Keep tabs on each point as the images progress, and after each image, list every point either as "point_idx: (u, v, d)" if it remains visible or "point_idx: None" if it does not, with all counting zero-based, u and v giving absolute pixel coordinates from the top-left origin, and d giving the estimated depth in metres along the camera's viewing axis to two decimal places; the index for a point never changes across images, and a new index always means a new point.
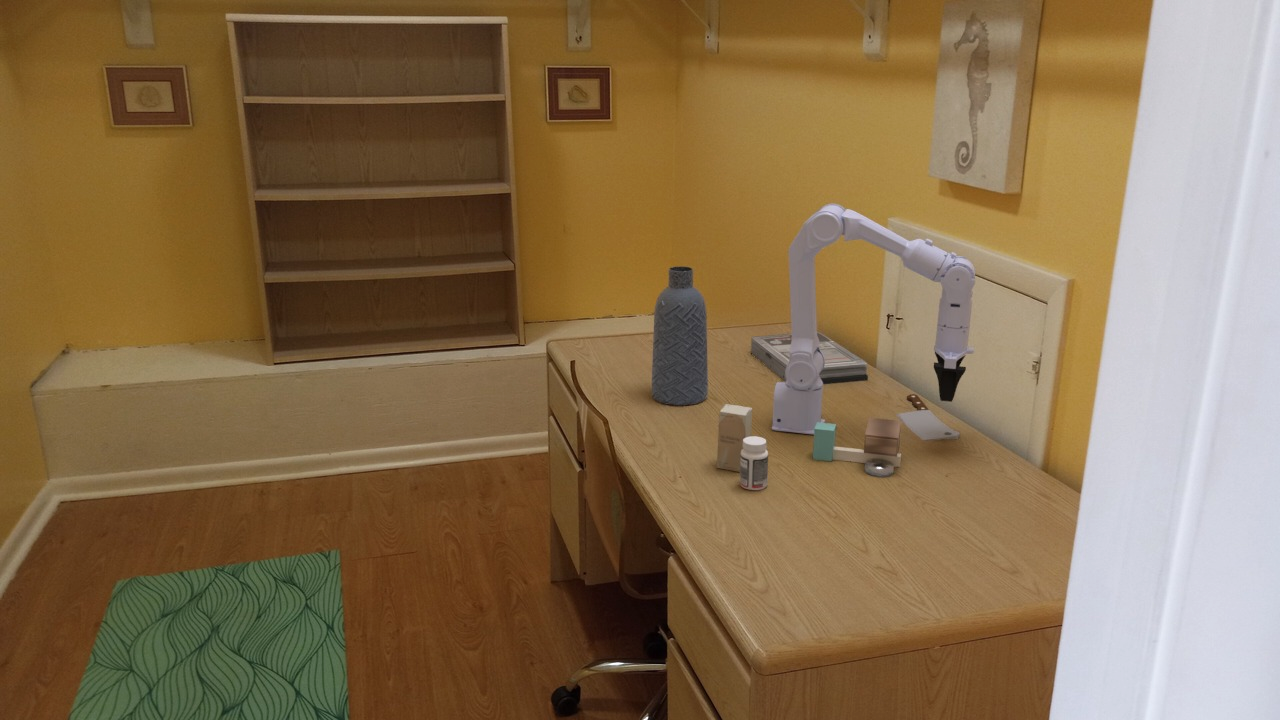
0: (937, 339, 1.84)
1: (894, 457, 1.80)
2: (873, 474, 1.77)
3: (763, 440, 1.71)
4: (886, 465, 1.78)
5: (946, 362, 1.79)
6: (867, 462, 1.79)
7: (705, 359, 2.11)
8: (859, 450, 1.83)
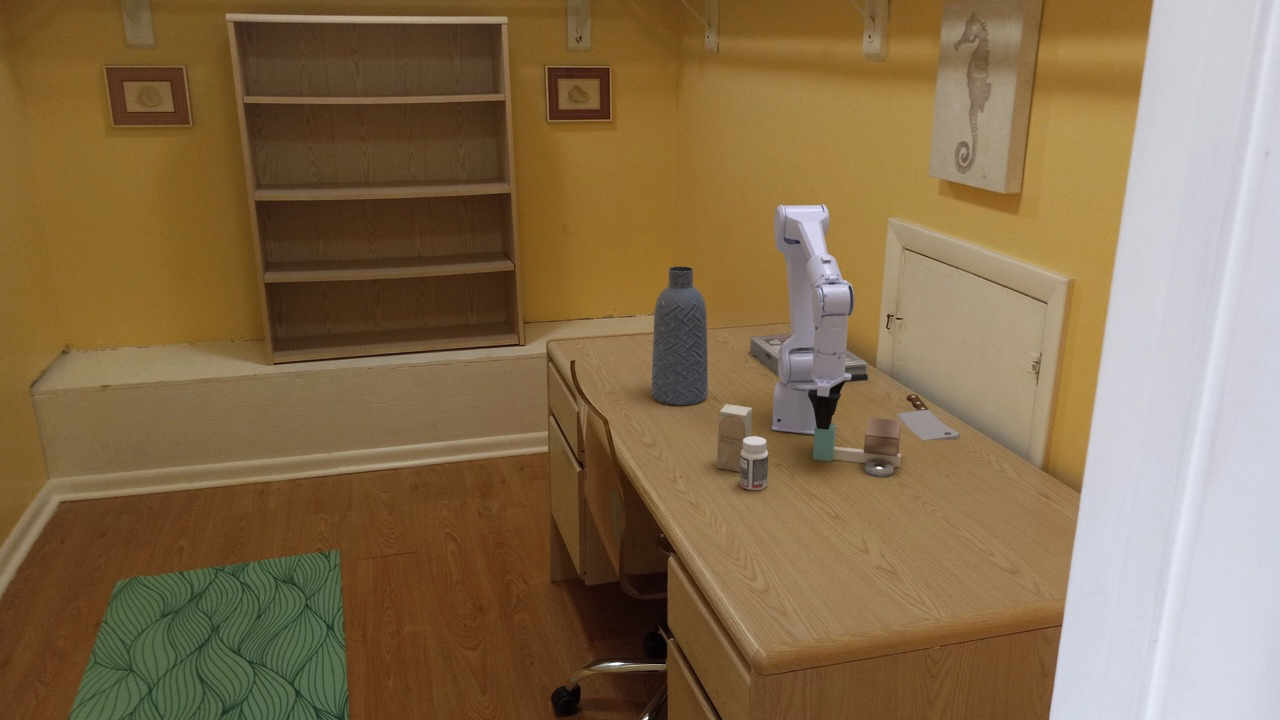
0: (813, 365, 1.79)
1: (894, 457, 1.80)
2: (873, 474, 1.77)
3: (763, 440, 1.71)
4: (885, 465, 1.78)
5: (819, 389, 1.74)
6: (867, 462, 1.79)
7: (705, 359, 2.11)
8: (859, 450, 1.83)
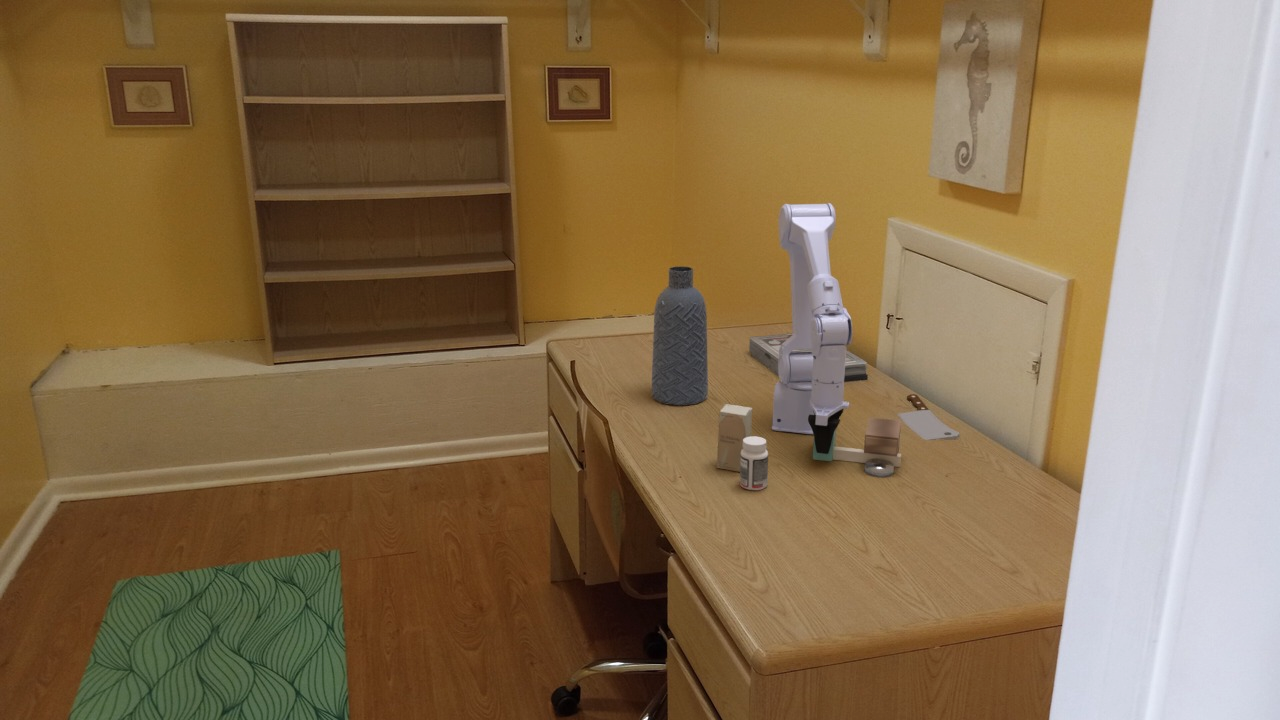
0: (812, 393, 1.81)
1: (894, 457, 1.80)
2: (873, 474, 1.77)
3: (763, 440, 1.71)
4: (885, 465, 1.78)
5: (817, 419, 1.76)
6: (867, 462, 1.79)
7: (705, 359, 2.11)
8: (859, 450, 1.83)
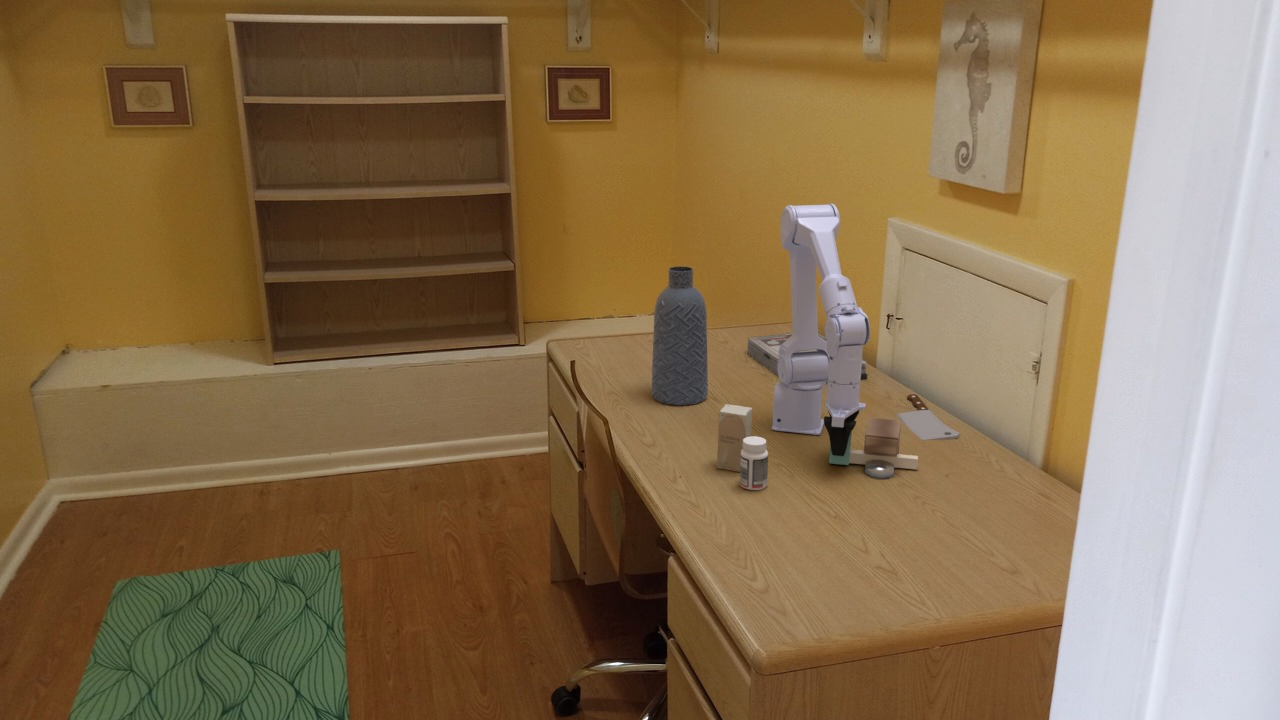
0: (827, 394, 1.78)
1: (911, 460, 1.79)
2: (873, 475, 1.76)
3: (763, 440, 1.71)
4: (886, 466, 1.77)
5: (833, 420, 1.73)
6: (867, 463, 1.78)
7: (705, 359, 2.11)
8: None
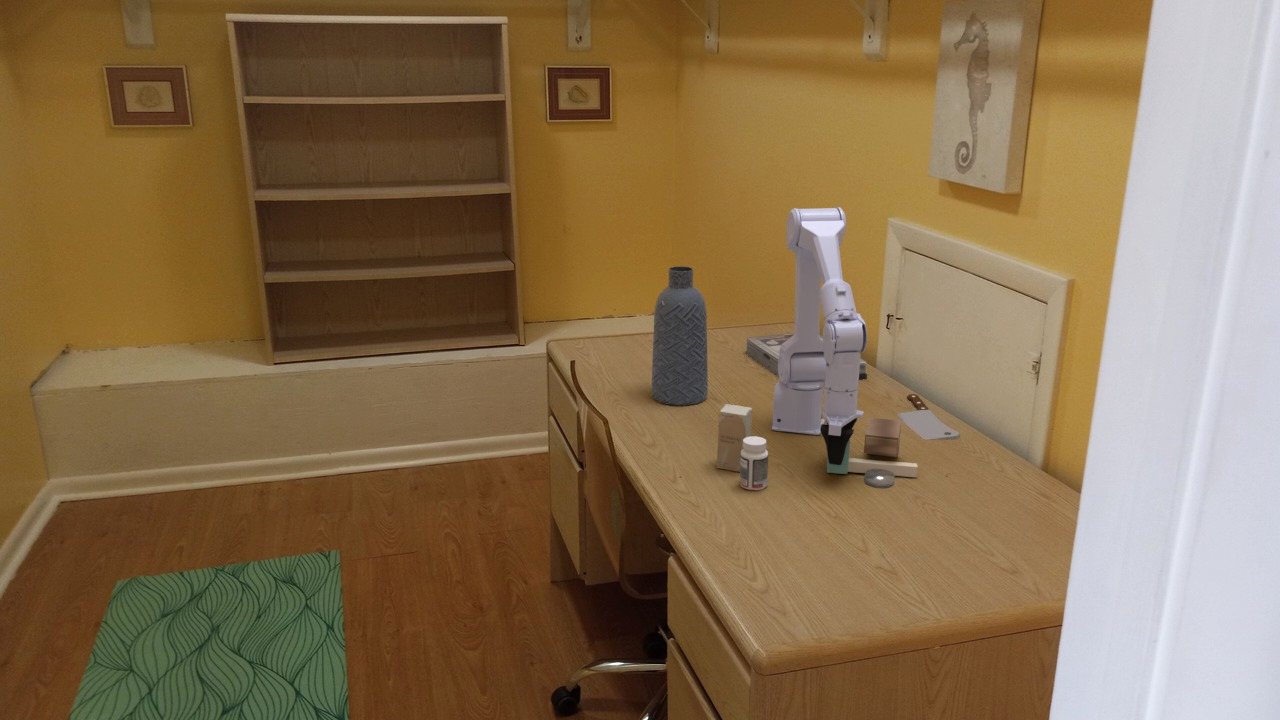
0: (824, 402, 1.74)
1: (911, 467, 1.75)
2: (873, 485, 1.73)
3: (763, 440, 1.71)
4: (886, 475, 1.74)
5: (830, 429, 1.69)
6: (867, 472, 1.75)
7: (705, 359, 2.11)
8: (874, 461, 1.77)
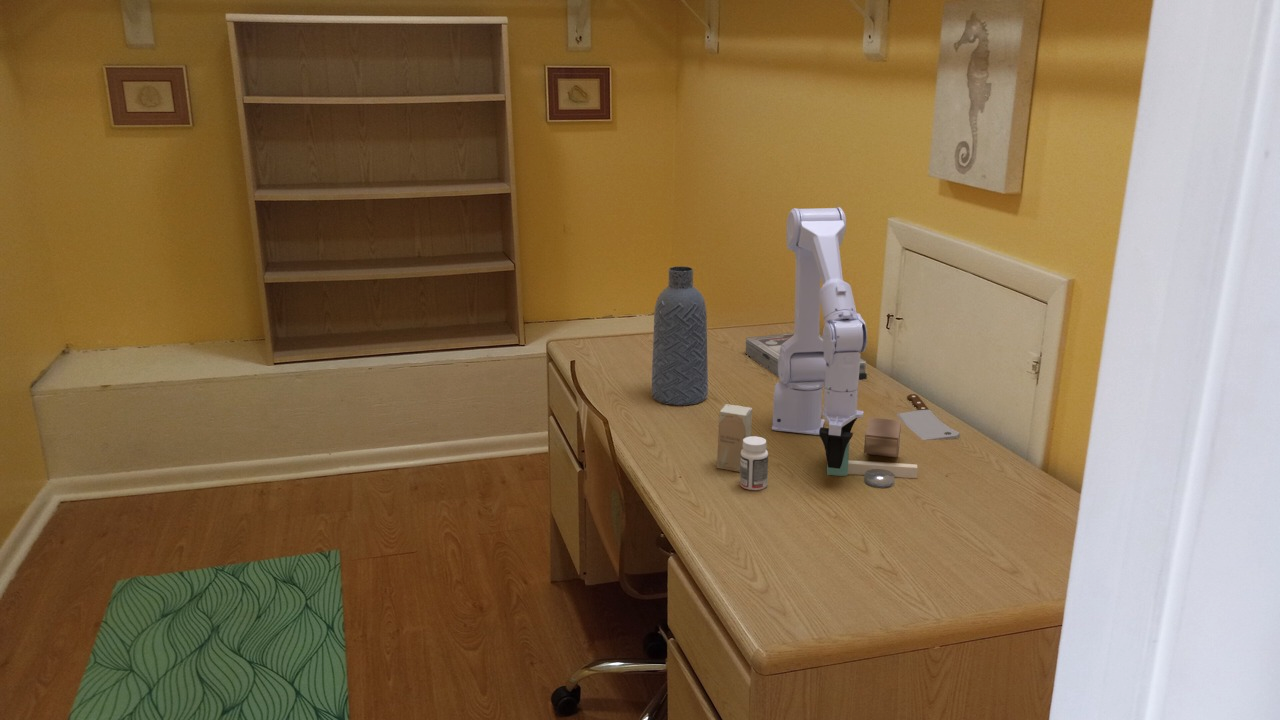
0: (824, 402, 1.74)
1: (911, 468, 1.75)
2: (873, 485, 1.72)
3: (763, 440, 1.71)
4: (886, 475, 1.74)
5: (830, 429, 1.69)
6: (867, 472, 1.75)
7: (705, 359, 2.11)
8: (874, 463, 1.77)
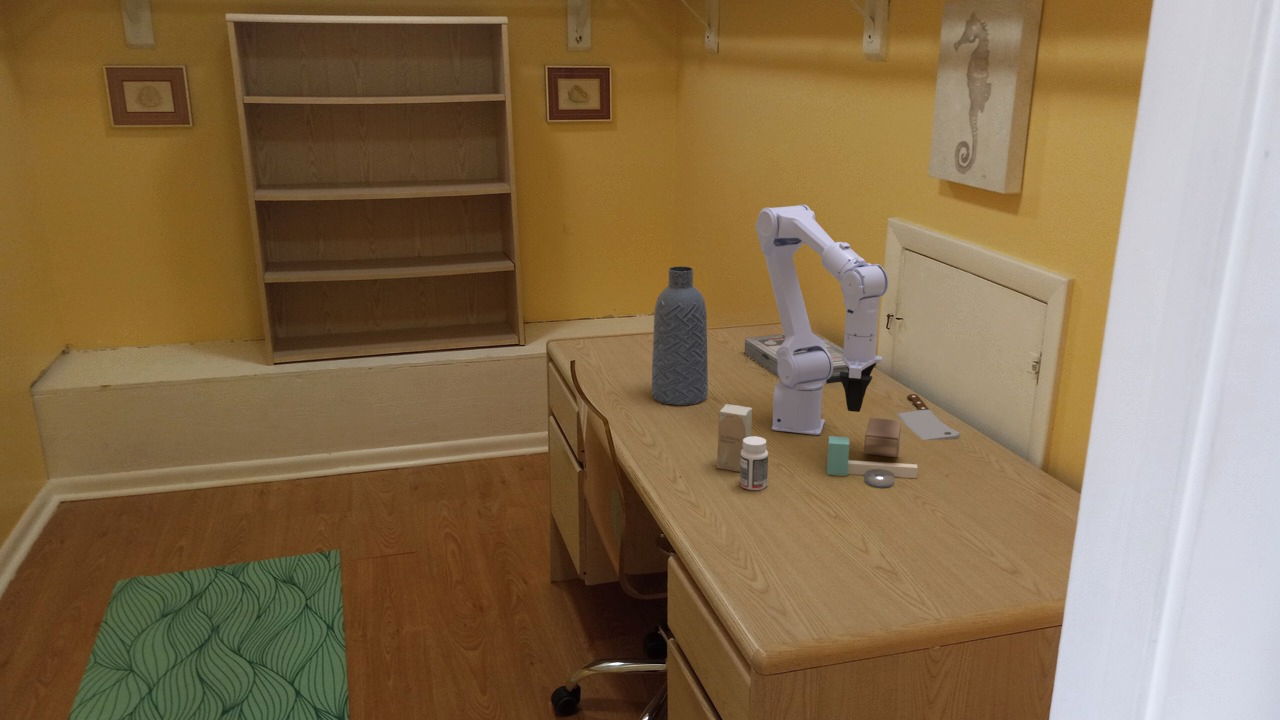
0: (844, 347, 1.80)
1: (911, 468, 1.75)
2: (873, 485, 1.72)
3: (763, 440, 1.71)
4: (886, 475, 1.74)
5: (851, 371, 1.74)
6: (867, 472, 1.75)
7: (705, 359, 2.11)
8: (874, 463, 1.77)
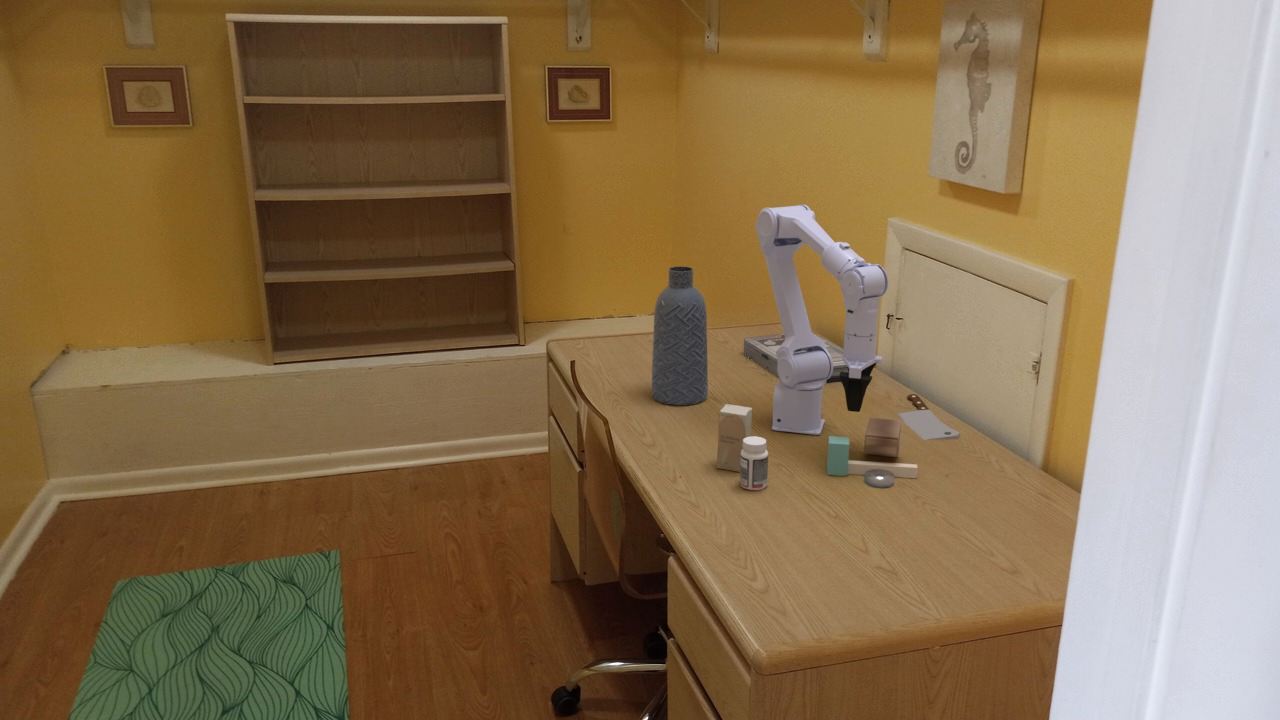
0: (844, 347, 1.80)
1: (911, 468, 1.75)
2: (873, 485, 1.72)
3: (763, 440, 1.71)
4: (886, 475, 1.74)
5: (851, 371, 1.74)
6: (867, 472, 1.75)
7: (705, 359, 2.11)
8: (874, 463, 1.77)
